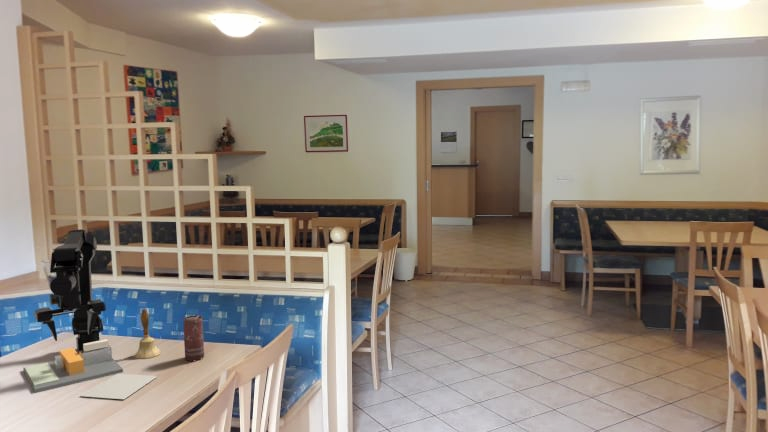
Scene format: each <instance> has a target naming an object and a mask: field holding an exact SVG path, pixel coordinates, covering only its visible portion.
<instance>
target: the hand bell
mask: <svg viewBox="0 0 768 432" xmlns="http://www.w3.org/2000/svg"><path fill="white" fill-rule="evenodd" d="M147 310H148V309H147V308H142V310H141V314H140V322H141V325H142V327H143V331H142V332H143V338H141V339H139V346H138V350H137V351H136V352H135V354H134V357H135V358H136V359H139V360H146V359H152V358H155V357H158V356H160V354H161V352H162V351H161V350H160V349H159V348H158V347H157V346H156V343H155V339H154V337H151V336H150V332H149V323H150V315H149V312H148V311H147Z"/></svg>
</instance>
